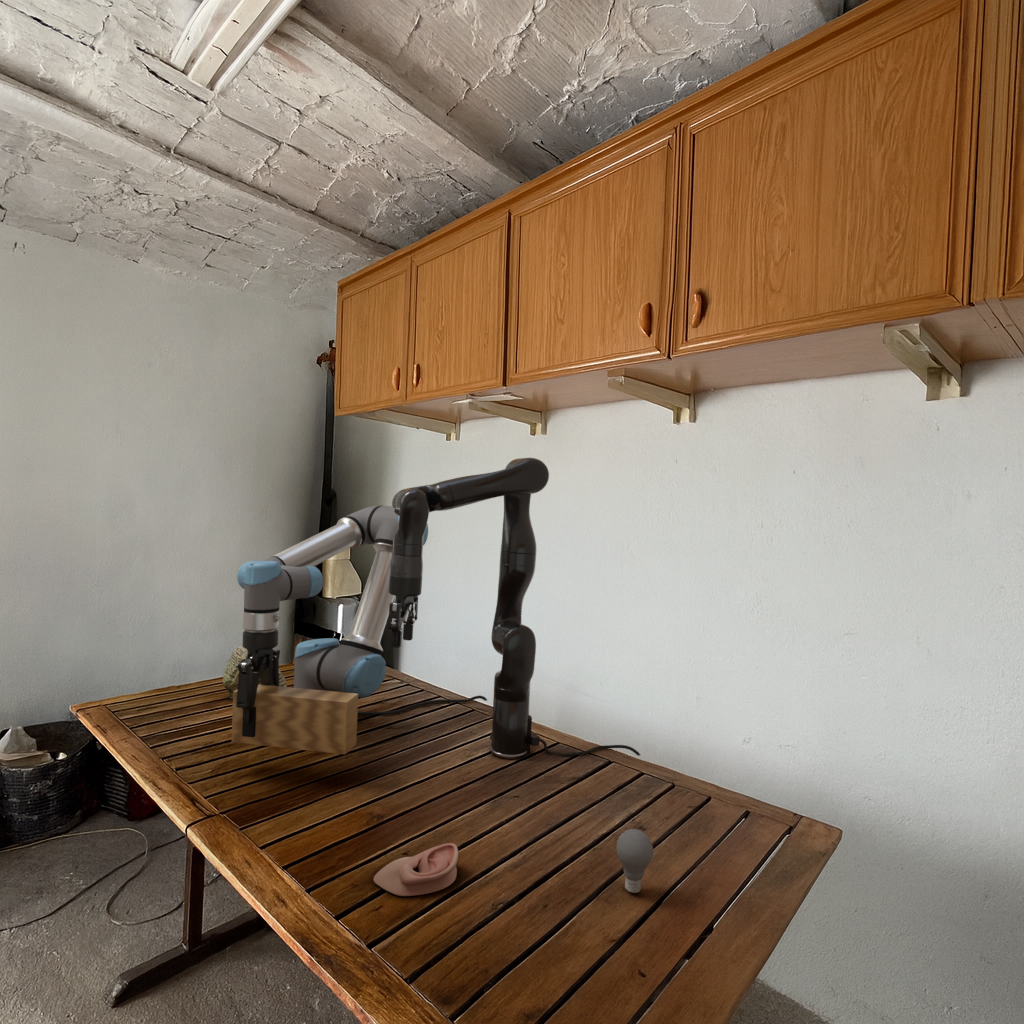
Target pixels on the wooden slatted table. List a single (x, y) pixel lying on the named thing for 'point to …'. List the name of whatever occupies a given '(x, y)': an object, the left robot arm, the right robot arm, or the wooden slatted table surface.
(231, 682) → the fossil
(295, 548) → the left robot arm
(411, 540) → the right robot arm
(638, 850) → the light bulb
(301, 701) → the box
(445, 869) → the anatomical model
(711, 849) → the wooden slatted table surface
